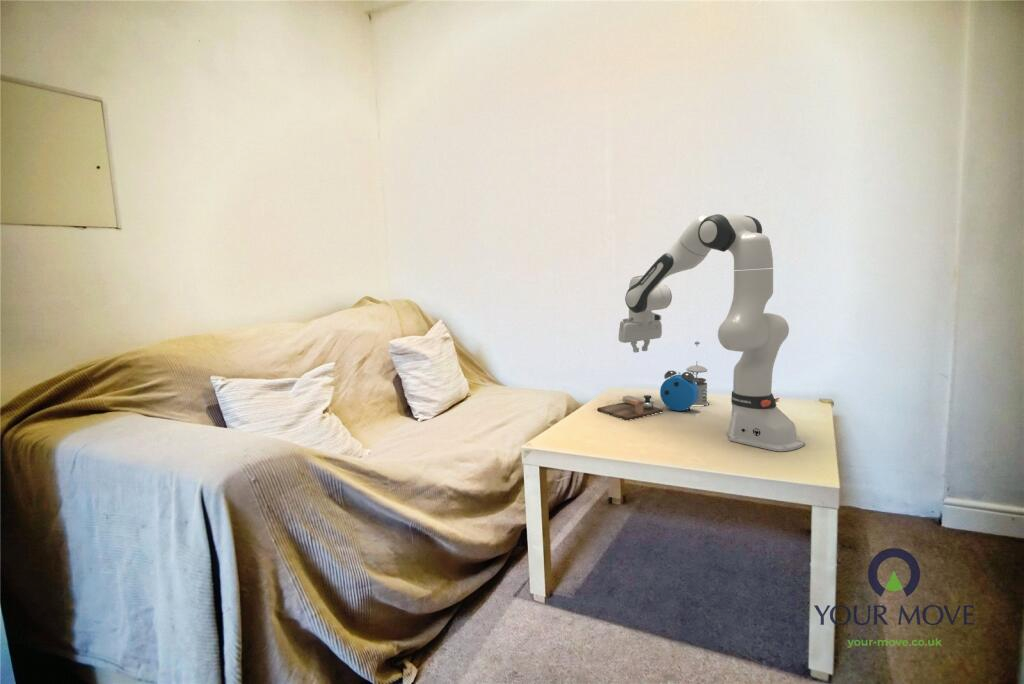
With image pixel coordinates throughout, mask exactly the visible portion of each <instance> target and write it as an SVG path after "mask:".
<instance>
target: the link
mask: <svg viewBox="0 0 1024 684" xmlns="http://www.w3.org/2000/svg"><path fill="white" fill-rule="evenodd" d="M628 398H634V399H637V400H641V401H644V405H643V408H644V409H652V408H654V407H655V406H654V401H651V399H652V395H650V394H649V395H648V394H645V395H643V398H644V399H641V398H638V397H635V396H631V395H625V396H622V403H623V402H625V399H628ZM629 404H630V403H629Z"/></svg>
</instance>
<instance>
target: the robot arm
mask: <svg viewBox="0 0 1024 684" xmlns="http://www.w3.org/2000/svg"><path fill="white" fill-rule="evenodd" d="M712 250H715V251H716V250H717V251H720V252H723V253H724V252H726V251H729V252H730V253H731V254H732V257H733V295H732V301H731V304H730V308H729V310H728V314H727V316H726V317H725V318H724V321H723V322H721V324H720V325H719V327H718V330H717V337H718V342H719V343H720V345H721V346H722V348H724V349H725V350H728V351H734V352H741V353H742V354H741V357H740V359H739V360H738V361H737V363H736V364H735V366H734V367H733V380H732V381H733V384H732V391H731V399H730V400H731V401H730V402H731V406H732V407H731V414H730V415H731V416H730V420H729V424H728V429H727V431H726V434H727V436H728V437H729V441H731V442H735V443H738V444H741V445H742V444H743V445H748V446H750V447H751V446H753V447H757V448H761V449H765V450H769V451H774V452H788V451H794V450H798V449H799V448H802V447H804V445H805V444H806V443H805V439H803V438H801V437H798V435H797V429H796V425H795V423H794V421H793V420H791V419H790V418H789V417H788V415H786V414H785V413H784V412H782V410H780V409H779V408H778V406H777V403H778V402H779V400H780V397H776V398H775V396H774V394H773V393H772V384H773V370H774V366H775V363H776V358H777V356H778V353H779V350H780V348H781V346H782V344H783V343H784V342H785V341H786V339H787V338H788V335H789V333H790V327H789V324H788V321H787V320H786V319H785V318H784V317H783V316H781V315H778V314H775V313H770V312H765V311H764V310H765V308H766V305H767V303H768V301H769V300H770V299H771V298H772V296H773V294H774V259H773V258H774V257H773V250H772V245H771V241H770V238H769V237H768V236H767V235H766V234H764V233H763V227H762V224H761V222H760V221H759V220H758V219H757V218H755V217H753V216H750V215H740V214H735V213H724V214H720V213H718V214H713V215H708V214H702V215H699V216H697V217H696V218H695V219H694V220H692V221H691V223H690V224H689V225H688V226H687V227H686V229H685V230H684V231H683V232H682V234H681V235H680V236H679V237H678V239H677V240H676V242H675V243H674V244H673V245H672V246H671V247H670V248H669V249H667V251H666V252H665V253H664V254H662V255H660V257H659V258H657V260H655V261H654V263H653V264H652V265H651V266H650V267H649V269H647V270H646V272H645V273H644V275H638V276H634V277H631V279H630V281H629V285H628V286H629V287H628V290H627V291H626V293H625V296H624V297H625V298H624V299H625V300H624V301H625V304H626V307H627V308H628V318H623V319H622V320H621V321H620V322H619V328H618V341H619V342H620V343H624V344H626V343H630V345H631V347H632V352H633V353H639V352H640V348H639V347H637V344H638V342H641V341H643V346H641V351H642V352H647V351H648V350H649V349H648V347H649V345H650V343H651V342H650V341H651V340H655V339H657V340H658V339H661V337H662V334H663V330H662V328H663V327H662V326H663V325H662V322H661V321H662V315H661V314H658V313H655V312H653V311H658V310H664V309H667V308H668V307H669V306H670V305H671V303H672V298H673V294H672V292H671V289H670V288H669V287H668V285H665V284H662V282H663V280H665V279H666V278H667V277H670V276H672V275H675V274H678V273H681V272H685V271H688V270H691V269H694V268H696V267H697V266H699V264H701V263H703V261H704V260H705V258H706V257H707V256H708V254H709V253H710V251H712Z"/></svg>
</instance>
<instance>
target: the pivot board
mask: <svg viewBox="0 0 1024 684" xmlns="http://www.w3.org/2000/svg"><path fill="white" fill-rule="evenodd" d="M596 411H597V412H599V411H600V413H602V412H603V413H602V414H605V413H606V415H608V414H609V415H608V416H611V415H612V417H614V416H615V417H614V418H617V417H618V418H617V419H620V418H622V419H621V420H623V419H624V421H626V420H628V421H631V420H630V419H633V420H635V418H637V419H640V418H639V417H641V418H644V417H643V416H646V417H648V416H647V415H650V416H653V415H652V414H654V415H656V414H655V413H658V414H661V413H660V412H663V413H664V409H663V408H661V407H660V408H659V407H655V406H654V408H652V409H644V408H643V413H642V414H637V413H635V405H633V404H629V403H626V402H623V401H622V402H620V403H616V404H615V403H614V404H611V405H606V406H601V407H597V409H596Z"/></svg>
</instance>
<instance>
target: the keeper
mask: <svg viewBox="0 0 1024 684" xmlns="http://www.w3.org/2000/svg"><path fill="white" fill-rule="evenodd" d="M625 402H626V403H630V404H633V405H635V413H637V414H642V413H643V405H644V401H641V400H637V399H634V398H628V399H625Z"/></svg>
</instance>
